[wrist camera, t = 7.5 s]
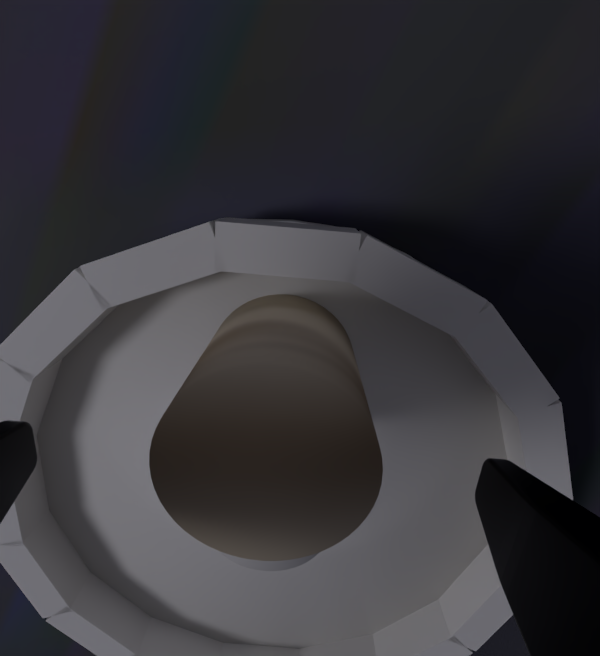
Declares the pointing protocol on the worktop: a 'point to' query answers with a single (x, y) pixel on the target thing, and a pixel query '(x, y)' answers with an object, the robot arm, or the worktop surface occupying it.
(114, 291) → the tray
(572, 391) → the worktop surface
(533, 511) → the robot arm
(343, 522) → the bead maple
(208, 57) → the worktop surface
